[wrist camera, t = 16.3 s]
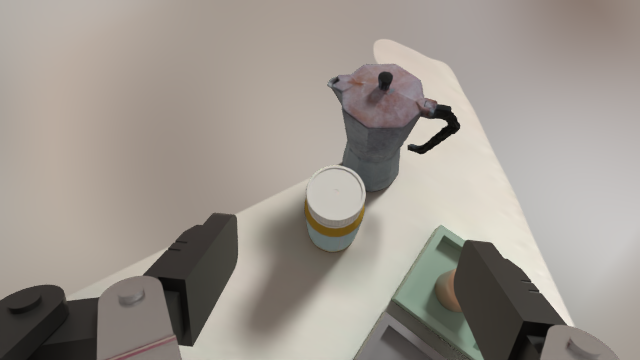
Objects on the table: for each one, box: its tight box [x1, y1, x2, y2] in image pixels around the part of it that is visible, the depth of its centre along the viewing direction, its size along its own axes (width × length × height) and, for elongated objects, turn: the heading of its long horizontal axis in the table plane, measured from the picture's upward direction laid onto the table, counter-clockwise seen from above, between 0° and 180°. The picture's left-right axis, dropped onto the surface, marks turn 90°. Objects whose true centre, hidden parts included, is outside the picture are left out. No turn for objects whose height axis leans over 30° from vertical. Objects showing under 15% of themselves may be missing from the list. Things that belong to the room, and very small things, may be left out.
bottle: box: [305, 165, 366, 252], centre depth 39 cm, size 7×7×15 cm
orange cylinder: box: [435, 268, 462, 312], centre depth 37 cm, size 5×5×10 cm
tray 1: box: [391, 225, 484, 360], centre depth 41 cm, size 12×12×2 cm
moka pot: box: [327, 64, 460, 192], centre depth 41 cm, size 10×15×20 cm, turn 72°
